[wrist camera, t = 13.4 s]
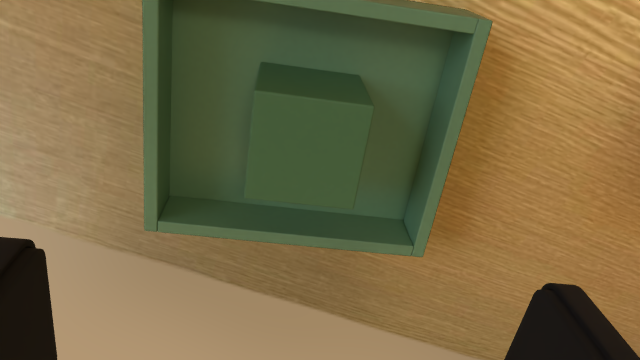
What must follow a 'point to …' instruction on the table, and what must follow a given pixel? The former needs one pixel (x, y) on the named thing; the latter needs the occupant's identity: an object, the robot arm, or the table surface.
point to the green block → (307, 136)
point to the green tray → (316, 53)
